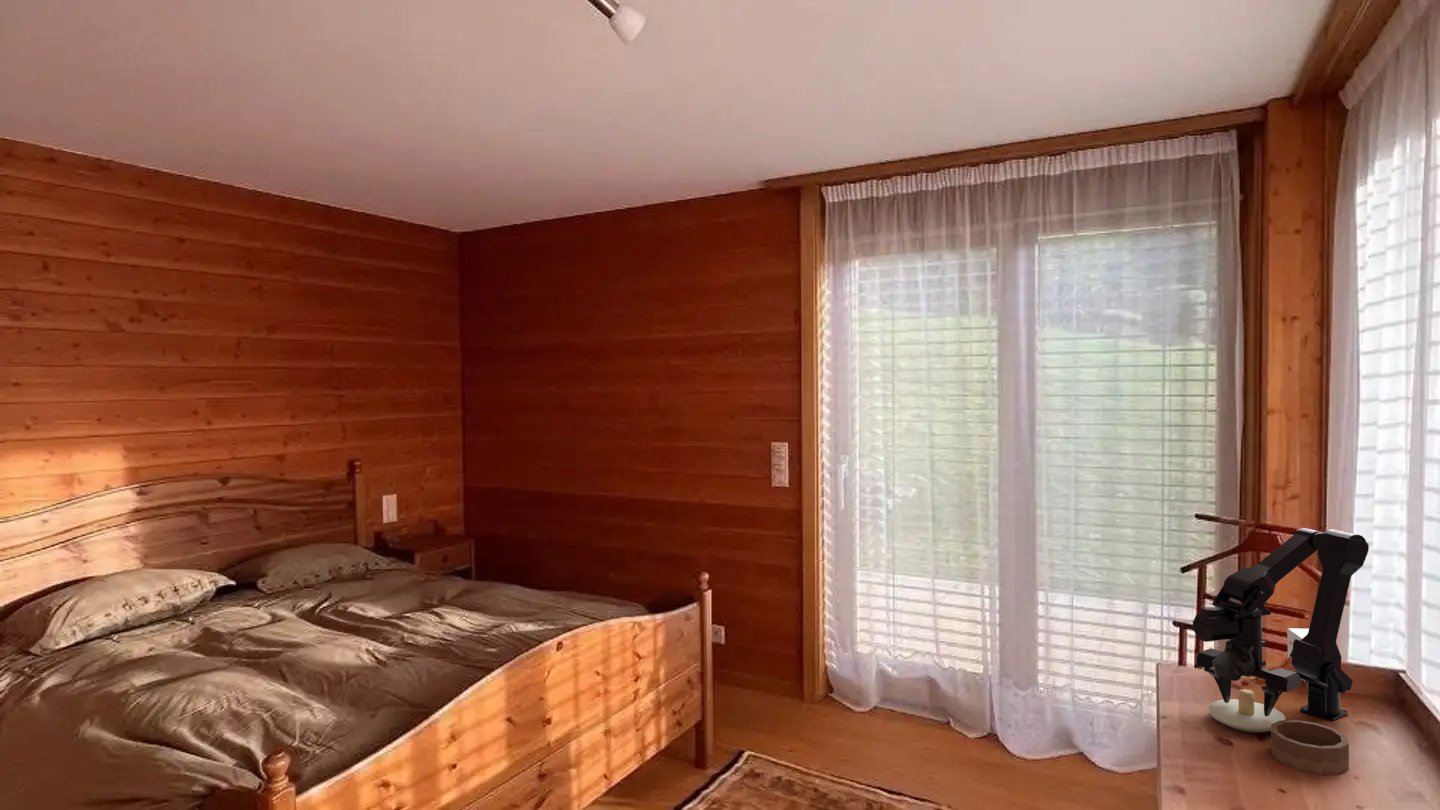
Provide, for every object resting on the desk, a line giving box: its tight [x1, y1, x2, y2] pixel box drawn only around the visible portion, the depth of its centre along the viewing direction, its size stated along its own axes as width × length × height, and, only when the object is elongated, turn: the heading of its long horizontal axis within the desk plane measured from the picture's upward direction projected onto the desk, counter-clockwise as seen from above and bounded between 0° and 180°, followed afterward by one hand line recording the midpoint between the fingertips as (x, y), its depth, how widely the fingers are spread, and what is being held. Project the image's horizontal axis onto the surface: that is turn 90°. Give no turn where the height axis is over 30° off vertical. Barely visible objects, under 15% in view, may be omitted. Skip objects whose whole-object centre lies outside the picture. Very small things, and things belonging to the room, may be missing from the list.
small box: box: [1286, 627, 1309, 659], centre depth 199 cm, size 8×6×10 cm
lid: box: [1208, 688, 1286, 734], centre depth 177 cm, size 14×14×7 cm
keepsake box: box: [1270, 719, 1350, 776], centre depth 161 cm, size 12×12×5 cm
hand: (1246, 709), depth 177 cm, fingers open, 8 cm apart
